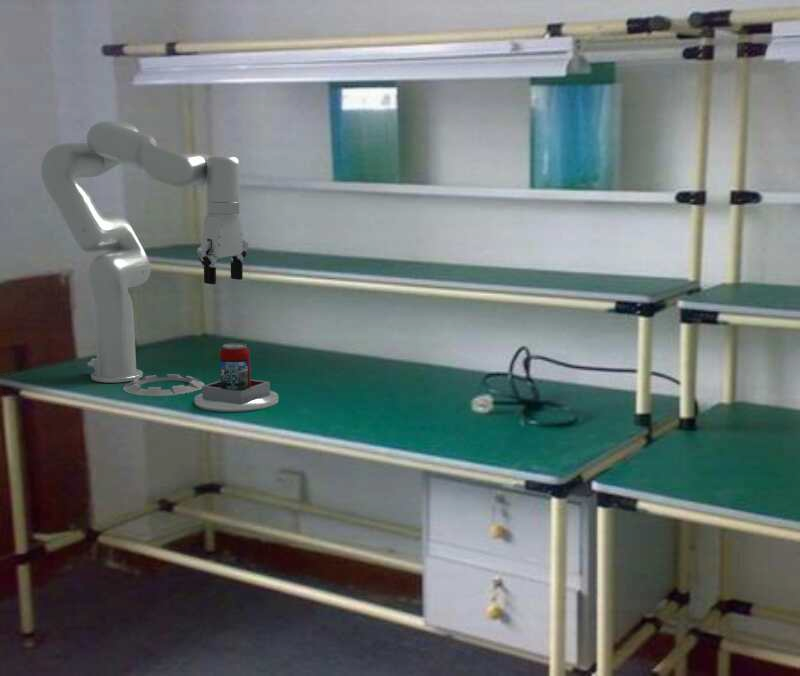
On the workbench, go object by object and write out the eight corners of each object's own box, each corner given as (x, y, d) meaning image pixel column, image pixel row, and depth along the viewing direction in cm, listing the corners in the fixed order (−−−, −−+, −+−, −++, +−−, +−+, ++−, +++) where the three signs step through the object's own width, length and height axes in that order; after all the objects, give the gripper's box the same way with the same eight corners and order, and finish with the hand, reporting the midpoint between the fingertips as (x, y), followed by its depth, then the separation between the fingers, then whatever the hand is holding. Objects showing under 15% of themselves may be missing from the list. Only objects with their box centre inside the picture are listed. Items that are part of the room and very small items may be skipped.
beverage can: (218, 400, 257) (216, 348, 255) (224, 393, 264) (222, 342, 261) (248, 400, 257) (246, 348, 255) (253, 393, 263) (251, 342, 261)
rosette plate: (177, 405, 257) (176, 387, 256) (229, 389, 273) (228, 372, 272) (245, 416, 248) (244, 397, 247) (294, 398, 264) (294, 380, 263)
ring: (220, 385, 279) (220, 377, 279) (168, 401, 263) (168, 393, 262) (160, 377, 289) (159, 369, 288) (106, 392, 272) (105, 384, 272)
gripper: (234, 206, 275) (234, 276, 278) (186, 210, 260) (186, 283, 264) (258, 208, 271) (258, 279, 275) (211, 212, 257) (211, 287, 260)
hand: (223, 281), depth 269 cm, fingers open, 9 cm apart
